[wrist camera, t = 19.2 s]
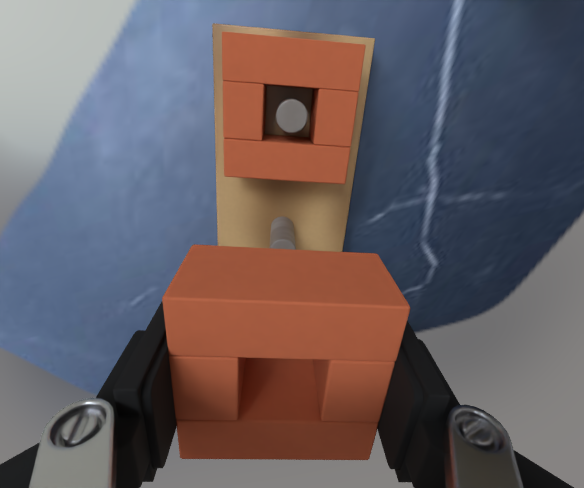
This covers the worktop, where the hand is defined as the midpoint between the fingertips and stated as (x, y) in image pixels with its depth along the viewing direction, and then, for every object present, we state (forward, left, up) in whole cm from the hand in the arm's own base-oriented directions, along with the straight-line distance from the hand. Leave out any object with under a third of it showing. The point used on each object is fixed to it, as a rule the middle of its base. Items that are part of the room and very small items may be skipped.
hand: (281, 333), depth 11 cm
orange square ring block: (0, 0, -1) cm, 1 cm away
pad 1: (0, -7, -10) cm, 12 cm away
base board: (0, -3, -11) cm, 12 cm away
